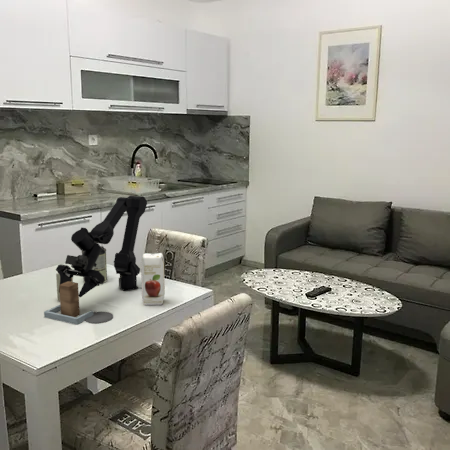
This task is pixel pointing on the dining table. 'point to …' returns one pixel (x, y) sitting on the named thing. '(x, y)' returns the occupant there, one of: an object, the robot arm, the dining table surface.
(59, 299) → the box
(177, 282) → the dining table surface
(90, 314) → the grey u-frame
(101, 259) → the coffee can
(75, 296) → the walnut block
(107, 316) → the coaster
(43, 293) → the dining table surface
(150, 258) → the juice carton
